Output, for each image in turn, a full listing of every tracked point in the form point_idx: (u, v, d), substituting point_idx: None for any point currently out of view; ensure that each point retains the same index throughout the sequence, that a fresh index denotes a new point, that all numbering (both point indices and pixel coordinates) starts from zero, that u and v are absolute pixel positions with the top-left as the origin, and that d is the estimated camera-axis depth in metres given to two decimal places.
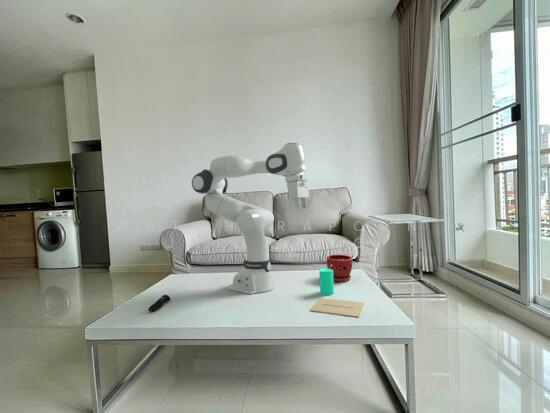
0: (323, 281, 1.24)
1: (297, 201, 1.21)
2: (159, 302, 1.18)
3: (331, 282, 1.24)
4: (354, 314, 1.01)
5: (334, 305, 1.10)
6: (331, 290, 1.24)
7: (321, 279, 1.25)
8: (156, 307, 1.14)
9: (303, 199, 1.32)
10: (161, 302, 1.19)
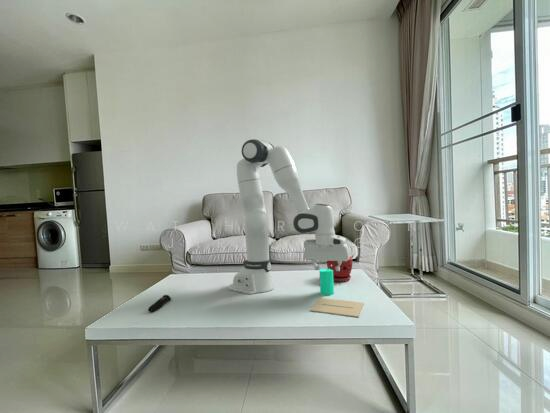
0: (323, 281, 1.24)
1: None
2: (159, 302, 1.18)
3: (331, 282, 1.24)
4: (354, 314, 1.01)
5: (334, 305, 1.10)
6: (331, 290, 1.24)
7: (321, 279, 1.25)
8: (156, 307, 1.14)
9: (315, 260, 1.28)
10: (161, 302, 1.19)
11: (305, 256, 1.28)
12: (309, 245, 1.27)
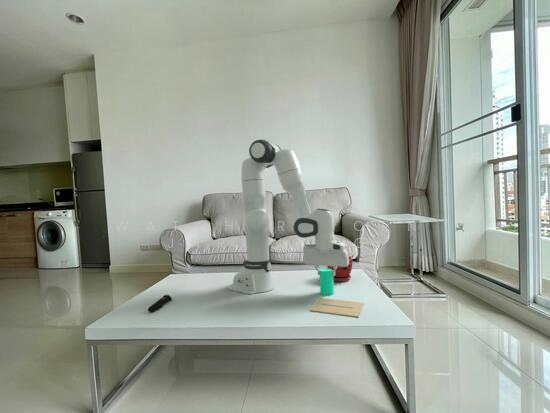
0: (323, 281, 1.24)
1: (336, 268, 1.25)
2: (159, 302, 1.18)
3: (331, 282, 1.24)
4: (354, 314, 1.01)
5: (334, 305, 1.10)
6: (331, 290, 1.24)
7: (321, 279, 1.25)
8: (156, 307, 1.14)
9: (318, 265, 1.28)
10: (161, 302, 1.19)
11: (304, 260, 1.29)
12: (309, 250, 1.28)
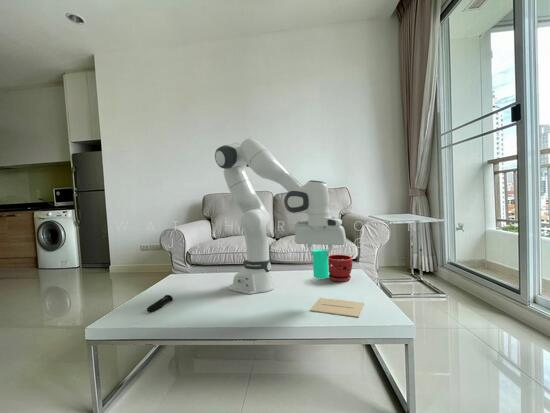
0: (316, 262, 1.09)
1: (331, 247, 1.10)
2: (159, 302, 1.17)
3: (326, 263, 1.09)
4: (354, 314, 1.01)
5: (334, 305, 1.10)
6: (326, 273, 1.09)
7: (314, 260, 1.10)
8: (155, 307, 1.14)
9: (311, 245, 1.13)
10: (161, 302, 1.18)
11: (296, 240, 1.14)
12: (300, 227, 1.13)
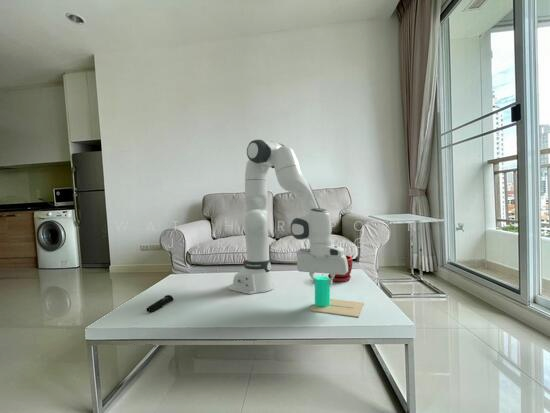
0: (318, 291, 1.10)
1: None
2: (159, 302, 1.17)
3: (327, 292, 1.10)
4: (354, 314, 1.01)
5: (334, 305, 1.10)
6: (327, 301, 1.10)
7: (316, 288, 1.10)
8: (154, 308, 1.14)
9: None
10: (161, 302, 1.18)
11: (298, 267, 1.14)
12: (302, 255, 1.13)
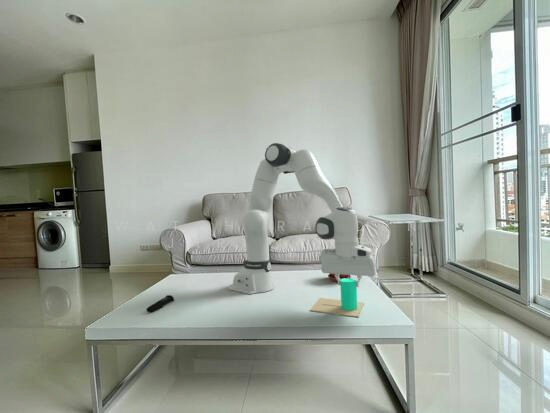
0: (345, 293, 1.05)
1: None
2: (159, 303, 1.17)
3: (355, 294, 1.05)
4: (354, 314, 1.01)
5: (334, 305, 1.10)
6: (355, 304, 1.05)
7: (343, 291, 1.06)
8: (155, 308, 1.14)
9: (338, 274, 1.09)
10: (162, 303, 1.18)
11: (322, 268, 1.10)
12: (327, 256, 1.09)
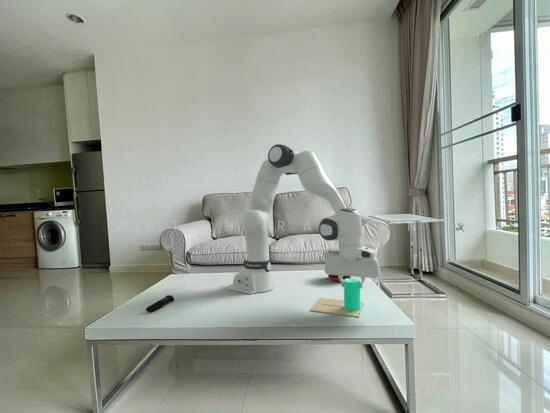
0: (348, 294, 1.05)
1: (364, 279, 1.05)
2: (159, 302, 1.17)
3: (358, 295, 1.05)
4: (354, 314, 1.01)
5: (334, 305, 1.10)
6: (358, 305, 1.05)
7: (346, 291, 1.06)
8: (154, 308, 1.14)
9: (342, 275, 1.08)
10: (161, 303, 1.18)
11: (326, 270, 1.09)
12: (331, 257, 1.08)
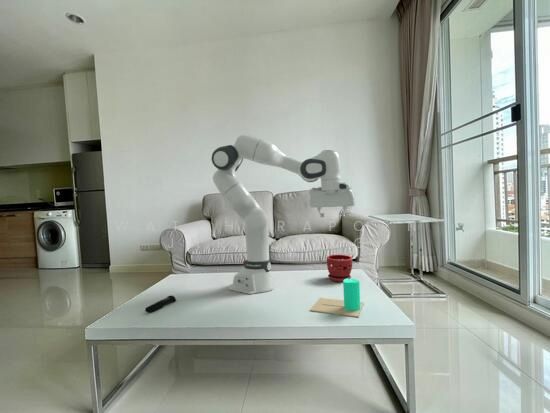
0: (348, 294, 1.05)
1: (346, 209, 1.25)
2: (159, 303, 1.17)
3: (358, 295, 1.05)
4: (354, 314, 1.01)
5: (334, 305, 1.10)
6: (358, 304, 1.05)
7: (346, 291, 1.06)
8: (153, 308, 1.13)
9: (320, 208, 1.29)
10: (162, 303, 1.18)
11: (310, 203, 1.29)
12: (314, 192, 1.28)
